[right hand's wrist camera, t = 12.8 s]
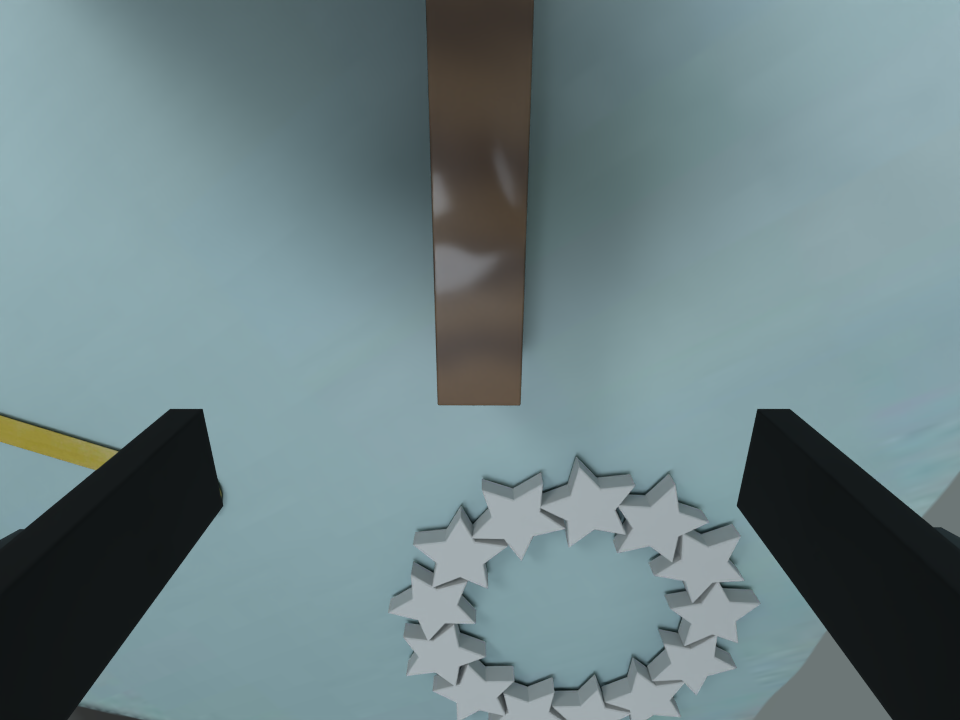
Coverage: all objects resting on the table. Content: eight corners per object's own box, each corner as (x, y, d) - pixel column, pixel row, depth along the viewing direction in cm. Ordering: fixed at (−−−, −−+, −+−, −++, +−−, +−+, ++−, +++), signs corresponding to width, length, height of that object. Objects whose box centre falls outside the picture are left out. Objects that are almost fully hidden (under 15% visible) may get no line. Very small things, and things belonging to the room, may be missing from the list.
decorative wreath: (610, 766, 52) (826, 557, 43) (614, 784, 51) (839, 572, 41) (333, 655, 47) (510, 387, 37) (328, 672, 45) (511, 397, 36)
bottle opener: (-56, 444, 39) (215, 524, 41) (-57, 445, 39) (215, 525, 41) (-55, 391, 37) (227, 477, 40) (-57, 392, 37) (226, 478, 40)
